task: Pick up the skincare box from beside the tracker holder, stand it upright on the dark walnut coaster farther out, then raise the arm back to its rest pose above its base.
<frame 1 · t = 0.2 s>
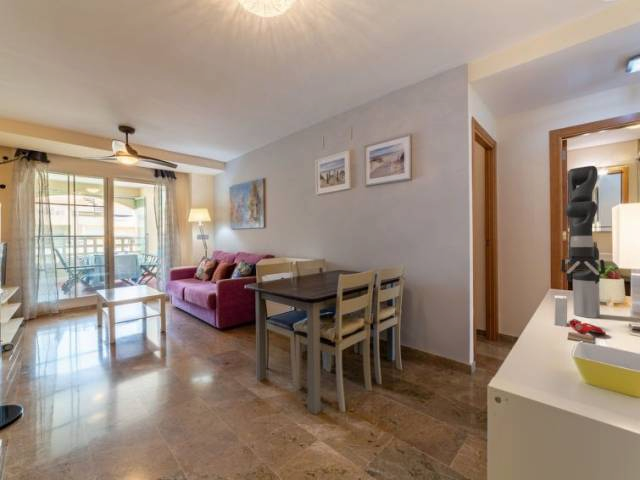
hand: (582, 282, 125), 18 cm above the table, tool pointing down, fingers open, 8 cm apart
skincare box: (561, 324, 123), on the table
coaster: (580, 338, 106), on the table
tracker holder: (586, 332, 113), on the table, touching coaster
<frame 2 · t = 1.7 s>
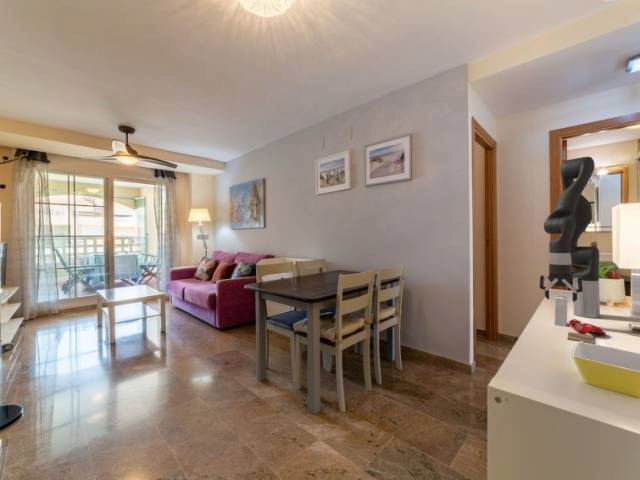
hand: (560, 300, 123), 11 cm above the table, tool pointing down, fingers open, 8 cm apart
nothing on the table moved.
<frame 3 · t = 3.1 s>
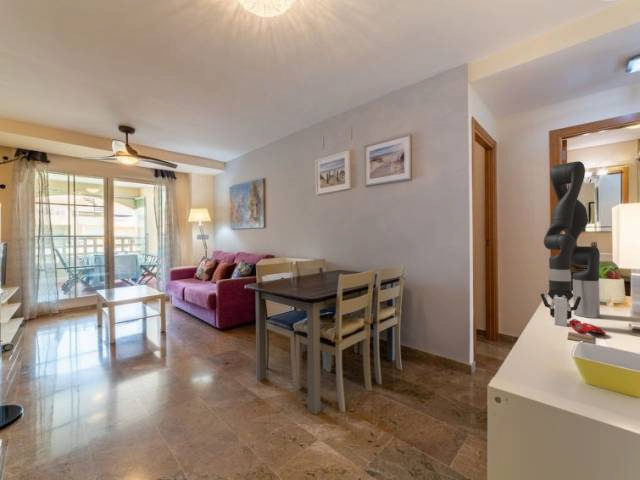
hand: (560, 317, 123), 3 cm above the table, tool pointing down, fingers closed on skincare box, 4 cm apart
skincare box: (561, 324, 123), on the table, touching gripper
everything else where it was.
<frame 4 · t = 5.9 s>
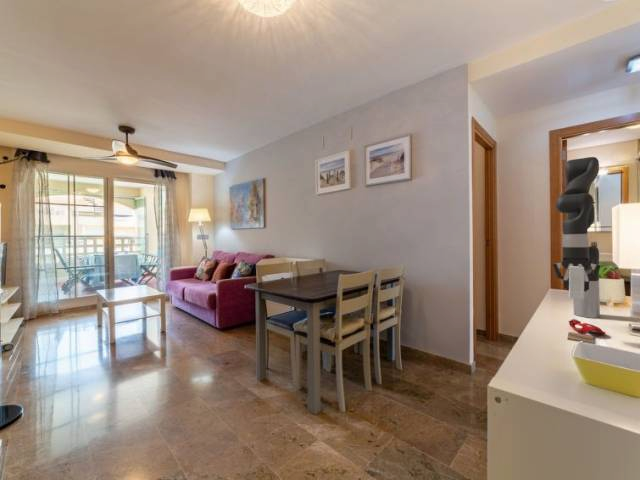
hand: (576, 290, 108), 18 cm above the table, tool pointing down, fingers closed on skincare box, 4 cm apart
skincare box: (576, 298, 108), point 15 cm above the table, touching gripper
everything else where it was.
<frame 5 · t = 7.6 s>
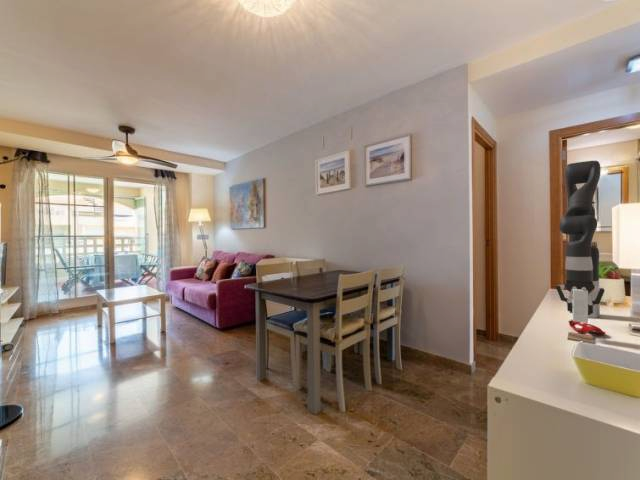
hand: (579, 313, 106), 9 cm above the table, tool pointing down, fingers closed on skincare box, 4 cm apart
skincare box: (580, 321, 106), point 7 cm above the table, touching gripper
everything else where it was.
when the fingers open (5 cm above the table, at t = 8.9 s): skincare box drops 1 cm, resting on coaster.
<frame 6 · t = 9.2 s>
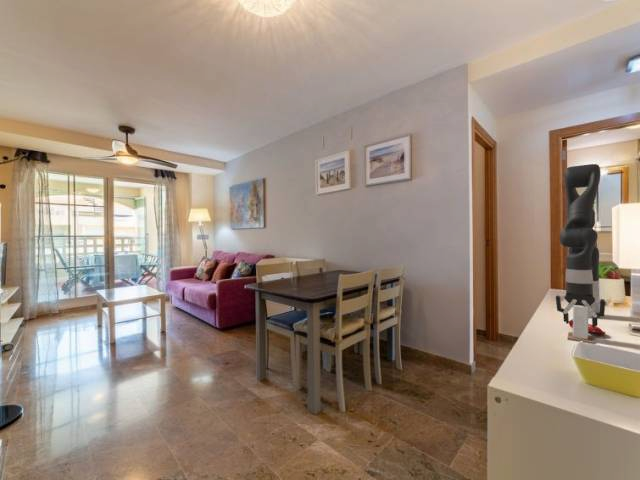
hand: (580, 324, 106), 5 cm above the table, tool pointing down, fingers open, 6 cm apart
skincare box: (581, 337, 106), resting on coaster
everything else where it was.
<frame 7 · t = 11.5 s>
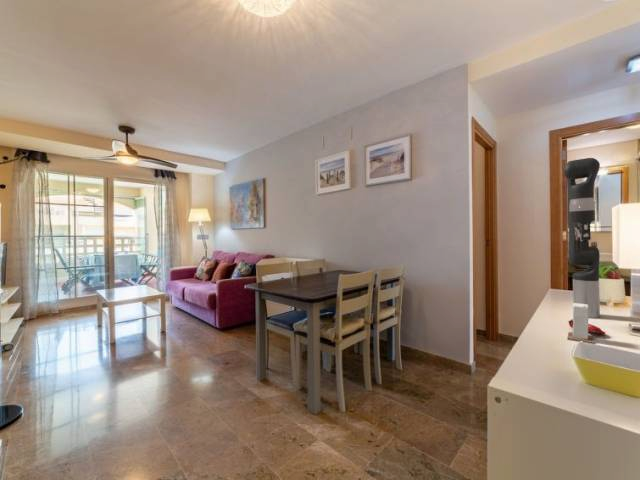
hand: (582, 250, 114), 33 cm above the table, tool pointing down, fingers open, 8 cm apart
nothing on the table moved.
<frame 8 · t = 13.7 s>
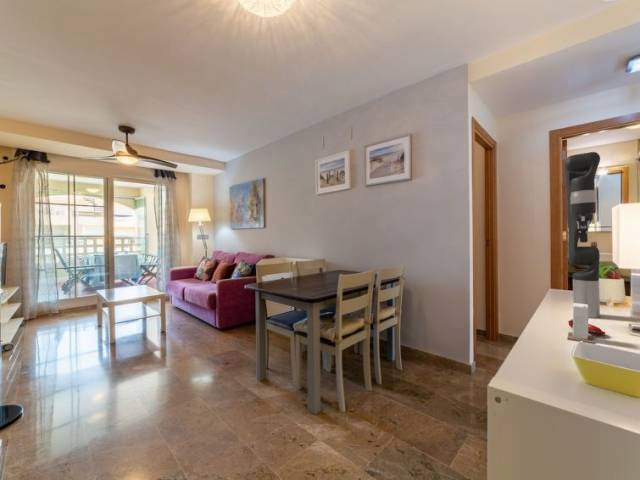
hand: (583, 242, 115), 36 cm above the table, tool pointing down, fingers open, 8 cm apart
nothing on the table moved.
at the end: skincare box 0.2 cm off-centre on the coaster, point 0.4 cm above the coaster's base; skincare box tilted 0°; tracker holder moved 0.4 cm from its start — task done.
